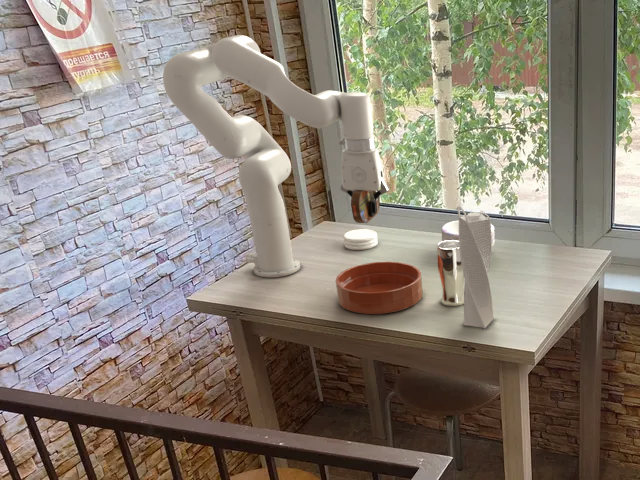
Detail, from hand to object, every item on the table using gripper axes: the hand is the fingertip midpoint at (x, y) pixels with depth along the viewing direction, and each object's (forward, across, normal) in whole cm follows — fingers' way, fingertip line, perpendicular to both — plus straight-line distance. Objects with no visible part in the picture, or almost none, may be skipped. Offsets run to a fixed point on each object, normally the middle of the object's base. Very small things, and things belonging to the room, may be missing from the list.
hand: (367, 214), depth 209 cm
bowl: (+16, +8, -17) cm, 25 cm away
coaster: (+17, -11, +21) cm, 29 cm away
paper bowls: (+16, +23, +19) cm, 34 cm away
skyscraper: (+16, +36, -27) cm, 48 cm away
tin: (+1, 0, 0) cm, 1 cm away
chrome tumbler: (+16, +27, -16) cm, 36 cm away
